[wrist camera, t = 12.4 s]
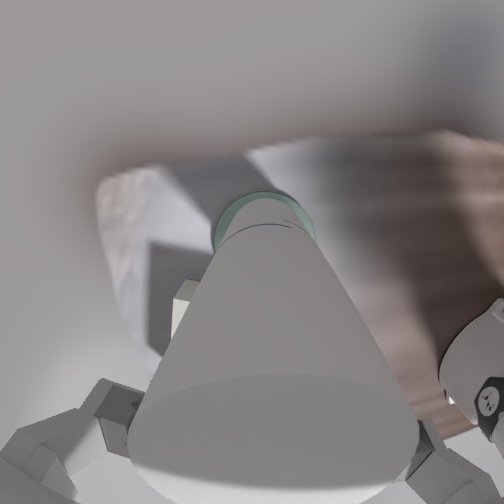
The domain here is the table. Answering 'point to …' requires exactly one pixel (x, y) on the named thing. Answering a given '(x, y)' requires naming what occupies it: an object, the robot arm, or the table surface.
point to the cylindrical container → (272, 382)
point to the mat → (238, 204)
